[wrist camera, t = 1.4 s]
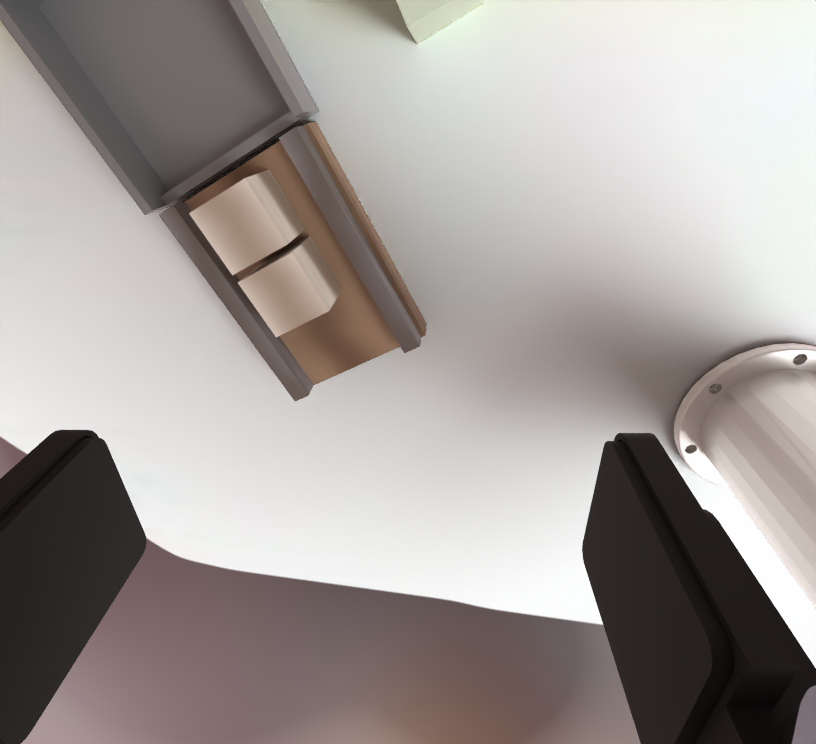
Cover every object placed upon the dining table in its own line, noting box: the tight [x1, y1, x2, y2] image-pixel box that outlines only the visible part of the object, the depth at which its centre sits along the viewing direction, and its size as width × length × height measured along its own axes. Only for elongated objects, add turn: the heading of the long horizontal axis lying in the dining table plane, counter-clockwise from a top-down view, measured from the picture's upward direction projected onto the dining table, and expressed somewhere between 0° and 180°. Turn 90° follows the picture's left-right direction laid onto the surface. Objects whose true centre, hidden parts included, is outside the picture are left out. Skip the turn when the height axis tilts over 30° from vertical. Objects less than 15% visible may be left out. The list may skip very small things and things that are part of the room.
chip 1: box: [189, 170, 305, 275], centre depth 29 cm, size 4×4×4 cm
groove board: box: [159, 122, 426, 401], centre depth 33 cm, size 11×15×4 cm
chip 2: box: [238, 236, 342, 337], centre depth 31 cm, size 4×4×4 cm
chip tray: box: [0, 0, 319, 215], centre depth 27 cm, size 12×13×4 cm
